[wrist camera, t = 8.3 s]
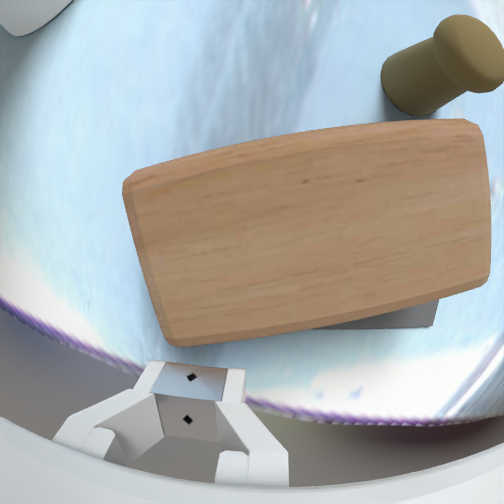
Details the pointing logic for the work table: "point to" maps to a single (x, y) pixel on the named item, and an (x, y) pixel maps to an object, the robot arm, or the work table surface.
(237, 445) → the robot arm
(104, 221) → the work table surface
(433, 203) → the wooden block
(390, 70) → the cork
